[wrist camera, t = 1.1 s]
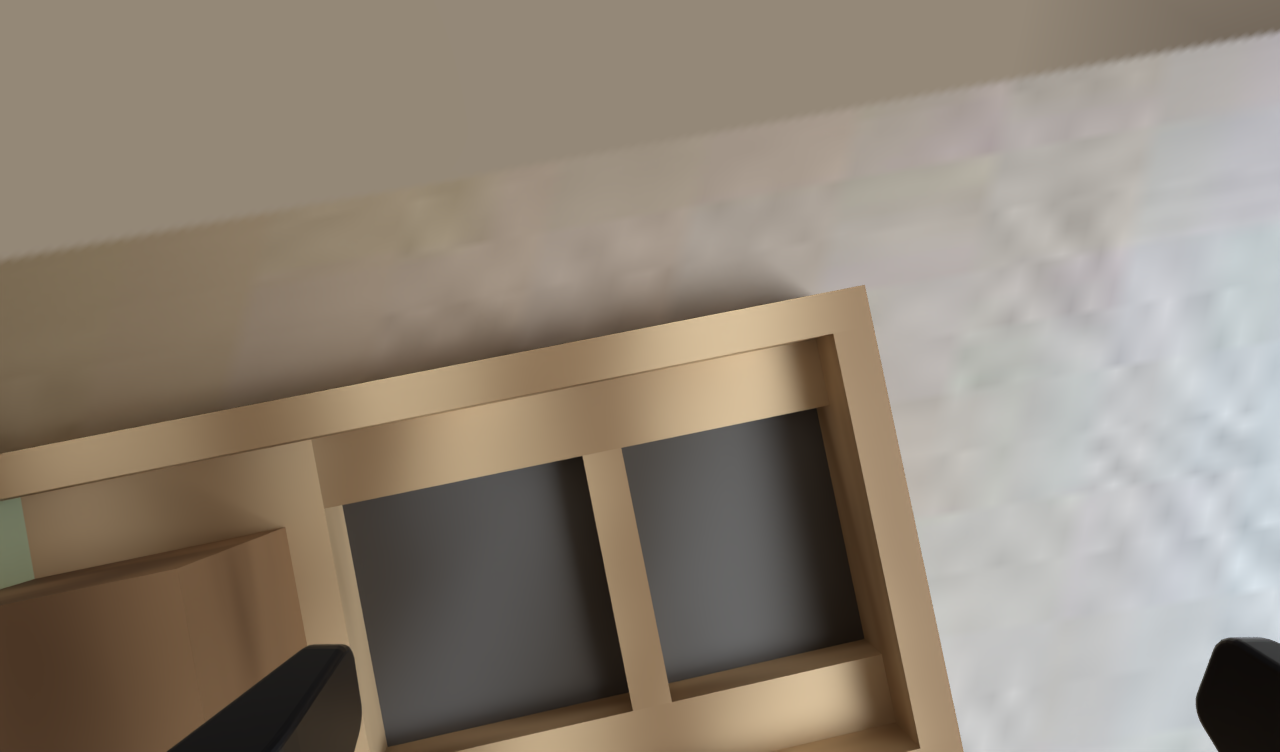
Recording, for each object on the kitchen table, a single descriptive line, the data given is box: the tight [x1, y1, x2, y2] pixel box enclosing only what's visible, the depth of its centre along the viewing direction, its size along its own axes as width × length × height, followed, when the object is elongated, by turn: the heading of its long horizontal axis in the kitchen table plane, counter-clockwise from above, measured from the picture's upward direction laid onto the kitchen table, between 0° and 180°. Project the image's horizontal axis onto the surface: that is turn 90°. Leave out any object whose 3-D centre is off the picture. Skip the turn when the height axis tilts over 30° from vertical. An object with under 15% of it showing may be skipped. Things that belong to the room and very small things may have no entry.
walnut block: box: [0, 527, 307, 752], centre depth 15 cm, size 6×6×4 cm
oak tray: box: [0, 285, 963, 752], centre depth 18 cm, size 30×12×3 cm, turn 101°
